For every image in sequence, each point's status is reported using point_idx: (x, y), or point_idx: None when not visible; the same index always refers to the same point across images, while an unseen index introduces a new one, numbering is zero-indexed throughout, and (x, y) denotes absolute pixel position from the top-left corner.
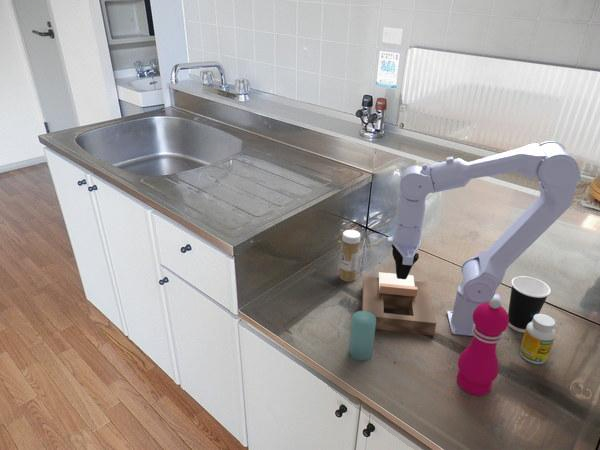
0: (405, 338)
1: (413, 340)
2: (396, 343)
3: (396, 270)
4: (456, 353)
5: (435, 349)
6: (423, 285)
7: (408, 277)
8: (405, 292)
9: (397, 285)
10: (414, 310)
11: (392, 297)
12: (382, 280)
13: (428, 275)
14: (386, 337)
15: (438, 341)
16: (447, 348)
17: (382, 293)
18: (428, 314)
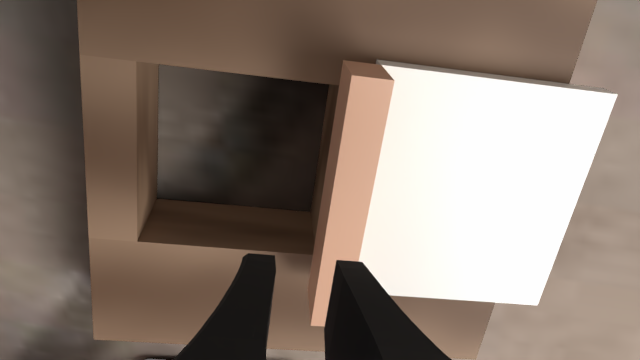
0: (65, 154)
1: (58, 191)
2: (8, 100)
3: (221, 302)
4: (13, 349)
5: (15, 276)
6: (447, 333)
7: (519, 276)
8: (318, 242)
9: (360, 209)
10: (194, 253)
11: None
12: (504, 106)
13: (604, 341)
14: (48, 51)
15: (79, 297)
16: (38, 323)
17: None
18: (167, 316)
